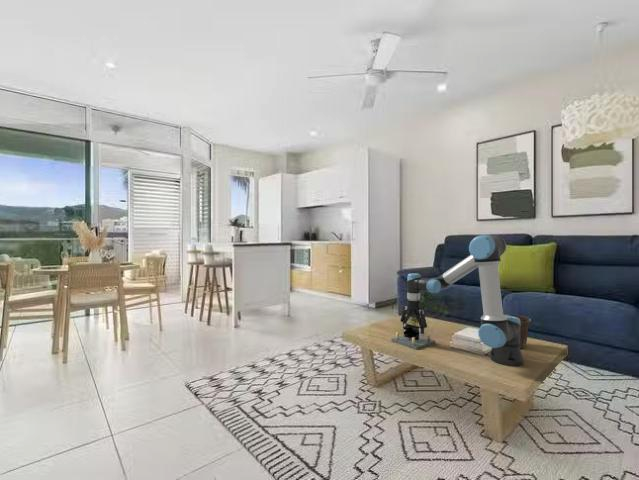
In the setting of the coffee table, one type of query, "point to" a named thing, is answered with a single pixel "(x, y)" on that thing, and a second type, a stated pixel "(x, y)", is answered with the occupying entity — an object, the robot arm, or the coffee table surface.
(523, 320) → the plant pot
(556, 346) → the coffee table surface
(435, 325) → the coffee table surface
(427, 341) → the standoff plate
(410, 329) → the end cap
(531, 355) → the coffee table surface
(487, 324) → the robot arm
